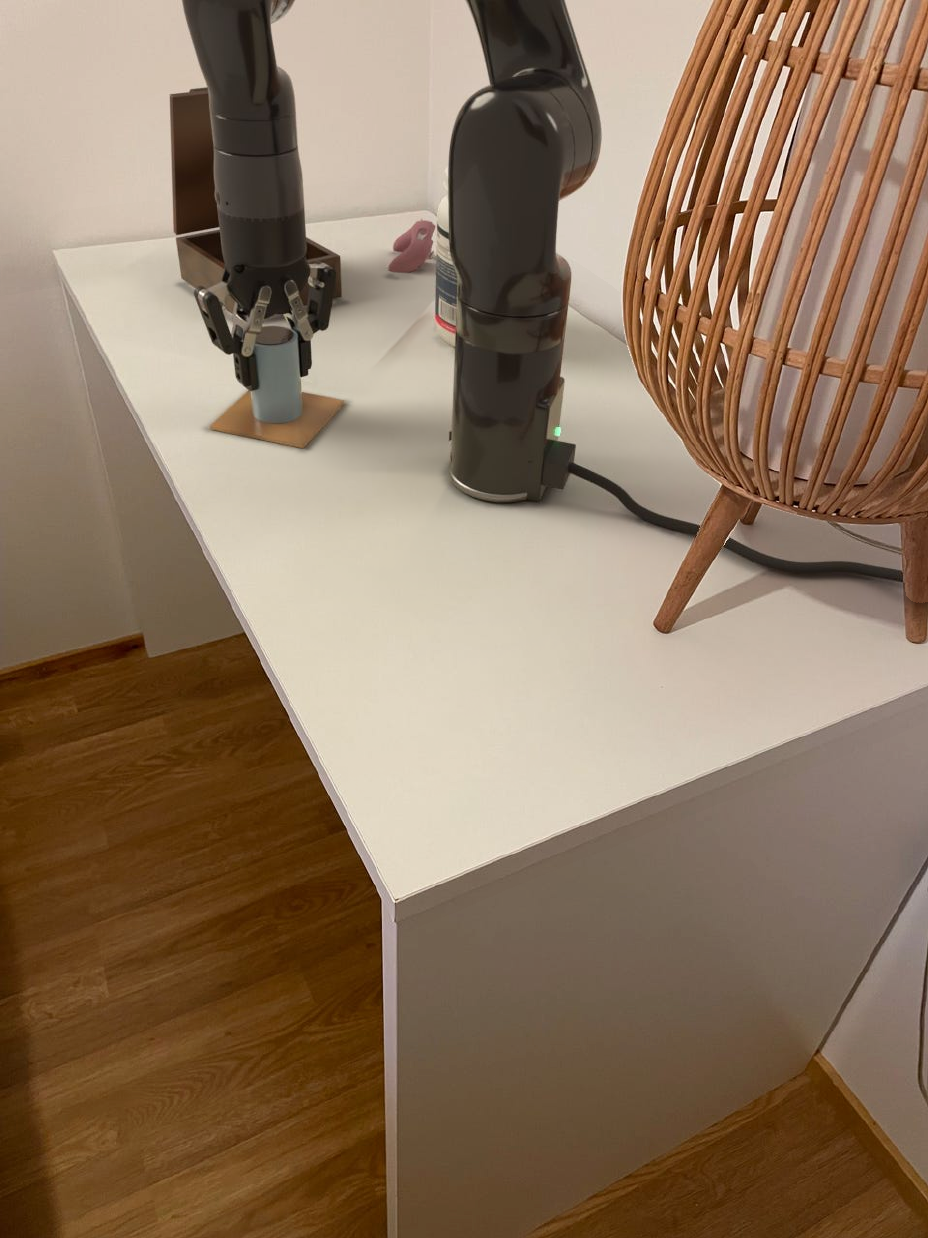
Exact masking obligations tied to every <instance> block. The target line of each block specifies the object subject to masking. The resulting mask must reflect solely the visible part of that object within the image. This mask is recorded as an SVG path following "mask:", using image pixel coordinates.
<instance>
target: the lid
mask: <svg viewBox="0 0 928 1238" xmlns="http://www.w3.org/2000/svg"><path fill="white" fill-rule="evenodd" d="M169 118H170V120H169V121H170V154H171V155H170V156H171V186H172V187H171V188H172V223H173V234H175V236H179V235H185V234H190V233H196V232H201V231H208V230H213V229H219V219H218V210H217V202H216V199H215V182H214V144H213V137H212V128H211V119H210V109H209V93H208V88H207V86H206V87H197V88H190V89H189V91H187V92H186V91H185V92H178V93H170V94H169Z"/></svg>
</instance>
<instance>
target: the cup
mask: <svg viewBox="0 0 928 1238" xmlns="http://www.w3.org/2000/svg"><path fill="white" fill-rule="evenodd" d="M253 354H254V355H255V358H256V369H257V379H258V389H257V390H254V391H250V393H251V402H252V411H253V415H254V417H255V418H256V419H258V420H260V421H262V422H266V423H274V424H279V423H287V422H291V421H293V420H296V419H297V418H299V417H300V416H301V415H302V413H303V404H302V392H303V390H302V377H301V375H300V360H299V346H298V335H297V333H296V332H295V331H294V330H293V329H290V328H289V326H288V327H287V326H283V325H274V324H273V325H272V324H271V325H262V329H261V332H260V333H259V334H257V337H256V341H255V346H254V350H253Z"/></svg>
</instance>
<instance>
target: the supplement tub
mask: <svg viewBox="0 0 928 1238" xmlns="http://www.w3.org/2000/svg"><path fill="white" fill-rule="evenodd" d="M442 184H443V185H442V187H443V189H444V190H445V191H446V193H447V194H446V195H445V196H444V197H442V199H441V201H440V202H439V204H438V208H437V213H436V249H435V252H436V255H435V257H436V258H435V295H434V297H435V299H434V300H435V301H434V326H435V330H436V332H437V334H438V335H439V337H440V338H441V339H442V340H443V341H444V342H446V343H447V344H449V345H450V346H452V347H454V348H455V334H456V310H457V286H458V279H457V273H456V271H455V268H454V265H453V263H452V259H451V255H450V248H449V213H448V166H447V167H446V168H445V170H444V181H443V183H442Z"/></svg>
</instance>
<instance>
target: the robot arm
mask: <svg viewBox="0 0 928 1238" xmlns="http://www.w3.org/2000/svg"><path fill="white" fill-rule="evenodd" d="M464 1H465V3H466V5H467V7H468V10H469V12H470V15H471V18H472V20H473V23H474V26H475V30H476V32H477V33H476V34H477V35H478V39H479V44H480V47H481V51H482V55H483V58H484V63H485V67H486V68H485V69H486V72H487V76H488V82H489V84H488V85H486V86H484V87H482V88H480V89H477V91H475V92H474V93H473V94H472V95H470V96H469V97H468V98H467V99H466V100H465V102H464V103H463V105H462V106H461V108H460V109H459V110H458V112H457V115H456V118H455V120H454V123H453V127H452V130H451V135H450V141H449V150H448V165H447V167H448V192H447V194H448V213H449V248H450V255H451V259H452V263H453V265H454V268H455V271H456V273H457V279H458V286H457V310H456V334H455V347H454V358H453V359H454V361H453V363H454V364H453V387H452V412H451V413H452V414H451V430H450V431H448V442H451V443H450V455H449V465H448V476H449V479H450V481H451V483H452V484H453V486H454V487H455V488H457V489H458V490H459V491H460V492H462V493H464V494H465V495H468V496H470V497H472V498H476V499H479V500H481V501H488V502H494V503H514V502H521V501H532V502H540V500H541V499H542V496H543V494H544V492H545V490H546V489H547V487H549V488H553V489H559V490H564V488H565V486H566V484H567V482H568V479H569V477H570V475H571V474H572V475H574V476H576V477H577V478H580V479H582V480H585V481H587V482H590V483H591V484H593V485H596V486H597V487H599V488H601V489H603V490H604V491H607V492H608V493H610V494H611V495H613V496H614V497H615V498H616V499H617V500H618V501H619V502H620V503H621V505H623V506H624V508H626V509H627V510H628V511H629V512H630V513H632V514H633V515H635V516H636V517H638V518H640V519H642V520H644V521H646V522H648V523H651V524H654V525H656V526H659V527H663V528H666V529H670V530H673V531H678V532H681V533H686V534H690V535H693V536H696V534H697V532H698V531H699V528H700V526H701V525H700V524H696V523H693V522H689V521H685V520H681V519H678V518H673V517H668V516H666V515H662V514H659V513H657V512H655V511H652V510H650V509H648V508H646V507H644V506H642V505H640V504H639V503H638V502H637V501H635V500H634V499H633V498H632V496H630V494H629V493H628V492H627V491H626V490H625V489H624V488H622V487H621V486H620V485H618V484H617V483H615V482H614V481H612V480H611V479H609V478H607V477H605V476H603V475H602V474H599V473H597V472H595V471H592V470H591V469H588V468H586V467H583V466H581V465H579V464H577V463H575V456H576V450H577V449H576V448H577V444H576V443H570V442H566V441H561V440H559V437H560V434H561V427H560V426H561V425H560V424H561V416H562V409H563V399H564V391H565V378H564V377H563V376H561V372H562V364H563V356H564V346H565V337H566V330H567V329H566V328H567V322H568V321H567V320H568V311H569V301H570V295H571V287H572V268H571V266H570V264H569V261H567V260H566V259H565V257H564V256H562V255H561V254H559V253H558V252H557V232H558V217H559V203H560V201H562V200H564V199H565V198H568V197H569V196H571V195H572V194H574V193H575V192H577V191H578V190H579V189H581V188H582V187H583V186H584V185H585V184H586V183H587V182H588V181H589V179H590V177H591V176H592V175H593V173H594V171H595V169H596V167H597V165H598V162H599V158H600V155H601V148H602V140H603V139H602V136H603V135H602V133H603V132H602V123H601V122H602V121H601V116H600V111H599V107H598V103H597V99H596V95H595V91H594V90H593V86H592V82H591V79H590V77H589V73H588V70H587V67H586V64H585V61H584V58H583V54H582V50H581V47H580V44H579V42H578V38H577V36H576V32H575V29H574V26H573V23H572V19H571V16H570V13H569V10H568V7H567V2H566V0H464ZM295 2H296V0H181V4H182V8H183V13H184V18H185V22H186V25H187V29H188V32H189V36H190V39H191V42H192V45H193V48H194V52H195V55H196V60H197V62H198V65H199V68H200V70H201V71H200V72H201V73H202V76H203V79H204V81H205V85H206V87H207V88H208V93H209V109H210V119H211V128H212V137H213V144H214V182H215V199H216V202H217V210H218V219H219V227H218V229H220V237H221V246H222V253H223V258H224V262H225V269H224V273H223V275H222V282H220V283H218V284H216V285H214V286H211V287H209V288H207V289H206V288H204V287H203V286H198V287H197V288H194V291H193V296H194V298H195V301H196V304H197V306H198V309H199V312H200V315H201V318H202V320H203V322H204V323H203V324H204V325H205V327H206V331H207V334H208V336H209V339H210V341H211V343H212V345H214V346H215V347H216V348H217V349H219V350H220V351H222V352H223V353H224V354H225V355H228V356H229V355H232V356H233V365H234V374H235V375H234V376H235V379H236V381H237V382H238V383H239V384H240V385H242V386H243V387H244V388H245V389H247V391H254V390H257V389H258V379H257V369H256V358H255V355H254V354H253V350H254V346H255V341H256V337H257V334H259V333H260V332H261V329H262V326H264V325H263V324H264V320H266V319H269V318H271V317H273V316H275V315H283V317H284V319H285V320H286V323H287V326H288V328H290V329H293V330H294V331H295V332H296V333H297V335H298V346H299V360H300V375H301V378H303V377H304V378H305V377H308V376H309V370H311V368H312V367H313V356H312V339H313V337H314V334H316V333H317V332H319V331H323V332H324V331H326V330H327V329H328V328H329V325H330V321H331V320H330V319H331V313H332V307H333V302H334V299H333V295H334V289H335V282H336V276H337V273H336V271H335V270H334V269H333V268H331V267H330V266H328V265H326V264H325V263H322V262H321V261H316V262H315V263H314V264H308V262H307V260H306V258H305V254H306V251H307V245H306V237H307V230H306V228H307V227H306V210H305V195H304V194H305V193H304V178H303V176H304V175H303V169H302V164H301V159H300V152H299V151H300V150H299V145H298V144H299V141H298V127H297V126H298V125H297V123H298V122H297V107H296V95H295V89H294V85H293V82H292V78H291V77H290V75H289V73H287V71H286V70H284V69H283V68H282V67H280V66H278V63H277V58H276V57H277V56H276V52H275V46H274V40H273V33H272V24H274V23H276V22H278V21H280V20H281V19H283V18H284V17H285V16H286V15H287V14H288V13H289V12H290V10H291V9H292V7H293V6H294V4H295ZM307 280H308V283H309V285H310V288H309V294H308V301H307V305H306V307H305V306H304V305H303V302H302V300H301V298H300V294H301V292H302V290H303V288H304V286H305V284H306V282H307ZM228 295H230V296H231V297H232V298H233V299H234V300H235V305H234V309H233V314H232V313H231V321H232V328H231V330H230V327H229V324H228V321H227V319H226V316H225V313H224V311H227V310H226V297H227V296H228ZM248 314H249V315H250V317H248ZM728 537H729V539H728V540H727V541H726V543H725V545H724V546H722V547H723V548H725V549H726V550H729V551H730V552H732V553H735V554H736V555H738V556H740V557H742V558H744V559H746V560H748V561H750V562H752V563H755V564H757V565H759V566H763V567H766V568H769V569H771V570H776V571H779V572H780V571H781V572H785V573H793V574H807V575H808V574H830V573H845V574H855V575H861V576H867V577H871V578H877V579H882V580H888V581H894V582H899V583H902V584H904V583H903V572H902V571H903V570H900V569H896V568H892V567H891V568H889V567H884V566H879V565H872V564H868V563H863V562H855V561H847V560H846V561H843V560H828V561H795V560H786V559H781V558H777V557H774V556H770V555H767V554H765V553H762V552H760V551H758V550H755V549H753V548H751V547H750V546H747V545H745V544H743V543H741V542H740V541H737V540H735V539H734V538H732V537H730V536H728Z"/></svg>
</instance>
